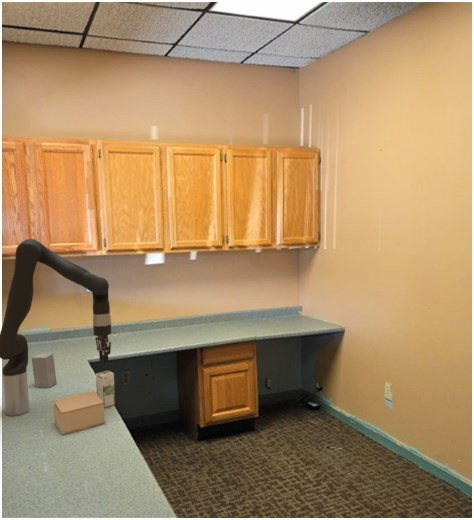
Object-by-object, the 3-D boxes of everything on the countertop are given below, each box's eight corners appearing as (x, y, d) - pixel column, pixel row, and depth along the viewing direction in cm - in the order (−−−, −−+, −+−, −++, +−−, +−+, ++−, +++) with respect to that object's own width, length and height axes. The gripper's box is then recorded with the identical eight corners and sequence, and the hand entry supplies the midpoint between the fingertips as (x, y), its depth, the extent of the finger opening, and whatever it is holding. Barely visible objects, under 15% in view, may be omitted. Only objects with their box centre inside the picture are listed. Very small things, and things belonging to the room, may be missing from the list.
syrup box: (108, 401, 206) (107, 369, 205) (115, 404, 202) (113, 372, 200) (97, 405, 202) (95, 373, 201) (103, 408, 198) (102, 375, 196)
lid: (53, 401, 183) (53, 400, 183) (93, 392, 193) (93, 390, 192) (61, 414, 173) (61, 412, 173) (103, 403, 182) (103, 402, 182)
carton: (54, 423, 184) (53, 403, 184) (94, 413, 193) (93, 394, 193) (63, 435, 173) (61, 414, 173) (104, 423, 183) (103, 404, 182)
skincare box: (57, 384, 231) (55, 353, 230) (47, 389, 224) (45, 357, 223) (42, 383, 233) (40, 352, 232) (33, 387, 226) (31, 356, 225)
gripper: (88, 322, 203) (90, 360, 204) (98, 327, 191) (100, 368, 192) (105, 319, 207) (107, 357, 208) (116, 325, 195) (118, 364, 197)
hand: (104, 362), depth 200 cm, fingers open, 4 cm apart
